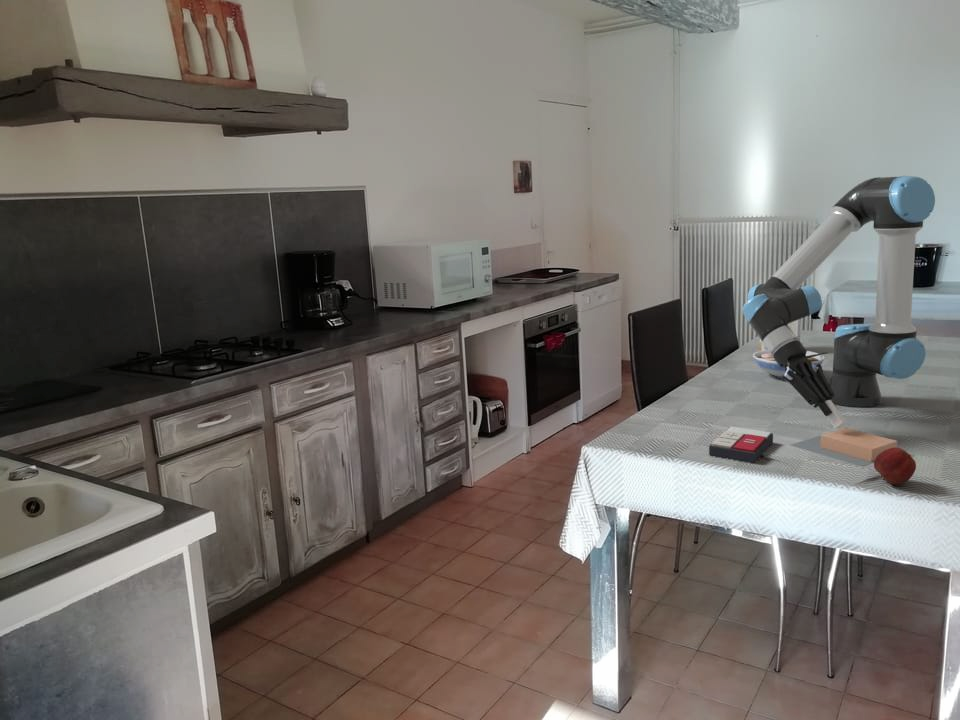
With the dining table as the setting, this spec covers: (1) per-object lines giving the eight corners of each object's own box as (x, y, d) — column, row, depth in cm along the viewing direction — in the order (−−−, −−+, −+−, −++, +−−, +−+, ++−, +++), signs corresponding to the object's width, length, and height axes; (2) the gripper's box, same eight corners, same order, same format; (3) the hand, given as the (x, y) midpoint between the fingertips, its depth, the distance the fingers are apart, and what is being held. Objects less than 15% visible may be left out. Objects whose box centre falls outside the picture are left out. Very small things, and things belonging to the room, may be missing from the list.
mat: (834, 434, 196) (834, 431, 196) (907, 453, 180) (907, 450, 180) (789, 447, 187) (789, 444, 187) (861, 469, 171) (862, 466, 171)
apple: (908, 492, 157) (911, 456, 156) (868, 484, 162) (870, 448, 161) (917, 482, 163) (920, 446, 161) (877, 474, 168) (880, 439, 166)
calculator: (708, 442, 183) (729, 423, 194) (708, 459, 184) (729, 439, 195) (754, 450, 176) (773, 430, 188) (754, 467, 177) (773, 446, 189)
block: (845, 427, 188) (897, 440, 177) (845, 439, 189) (896, 453, 178) (820, 435, 183) (872, 449, 172) (820, 447, 184) (871, 462, 173)
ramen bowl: (781, 365, 274) (782, 343, 272) (840, 377, 255) (841, 353, 253) (735, 376, 261) (736, 353, 259) (793, 388, 242) (794, 363, 240)
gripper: (792, 352, 200) (846, 428, 190) (759, 359, 194) (813, 438, 183) (811, 335, 195) (867, 412, 184) (777, 342, 188) (834, 422, 178)
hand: (840, 425), depth 184 cm, fingers closed
